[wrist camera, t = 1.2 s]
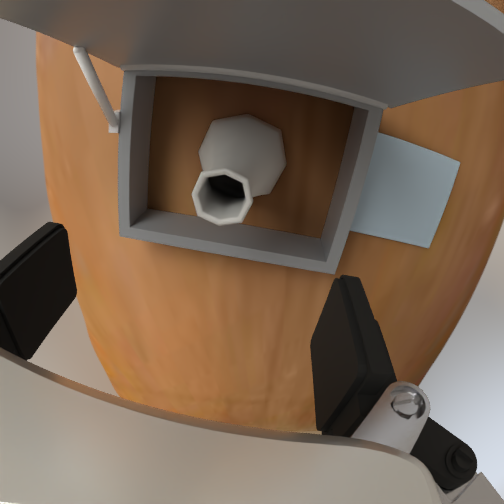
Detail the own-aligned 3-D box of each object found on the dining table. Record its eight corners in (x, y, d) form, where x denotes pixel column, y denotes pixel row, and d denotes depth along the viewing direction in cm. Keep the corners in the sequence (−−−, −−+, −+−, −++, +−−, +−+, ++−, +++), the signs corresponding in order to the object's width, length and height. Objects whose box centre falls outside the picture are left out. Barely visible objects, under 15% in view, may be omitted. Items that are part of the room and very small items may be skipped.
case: (147, 58, 20) (121, 54, 16) (370, 91, 20) (391, 93, 16) (137, 216, 27) (115, 240, 23) (327, 249, 28) (335, 280, 24)
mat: (373, 130, 22) (374, 131, 22) (458, 161, 22) (460, 162, 22) (345, 228, 26) (346, 230, 26) (427, 246, 27) (428, 248, 26)
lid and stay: (128, 23, 16) (-31, -7, 3) (395, 60, 16) (552, 52, 4) (116, 129, 20) (-38, 203, 8) (369, 170, 21) (478, 295, 8)
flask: (195, 191, 26) (155, 248, 17) (203, 108, 22) (158, 122, 14) (278, 204, 26) (279, 268, 17) (294, 120, 22) (305, 140, 14)
